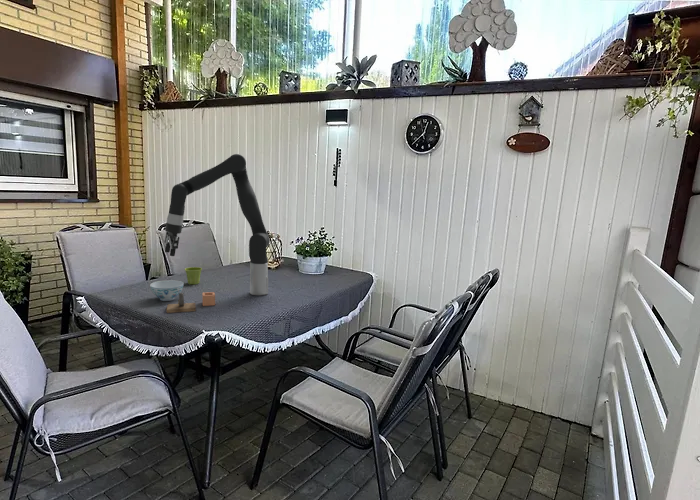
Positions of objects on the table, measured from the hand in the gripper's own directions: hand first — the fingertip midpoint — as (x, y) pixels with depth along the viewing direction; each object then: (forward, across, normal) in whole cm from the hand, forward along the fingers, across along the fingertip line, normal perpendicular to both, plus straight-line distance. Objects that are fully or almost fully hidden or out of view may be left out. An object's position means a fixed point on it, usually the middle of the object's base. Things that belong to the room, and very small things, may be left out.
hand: (169, 254), depth 196 cm
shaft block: (+20, -29, 0) cm, 35 cm away
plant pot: (+19, +14, -20) cm, 31 cm away
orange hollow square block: (+18, -27, -13) cm, 35 cm away
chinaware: (+21, -9, 0) cm, 23 cm away
